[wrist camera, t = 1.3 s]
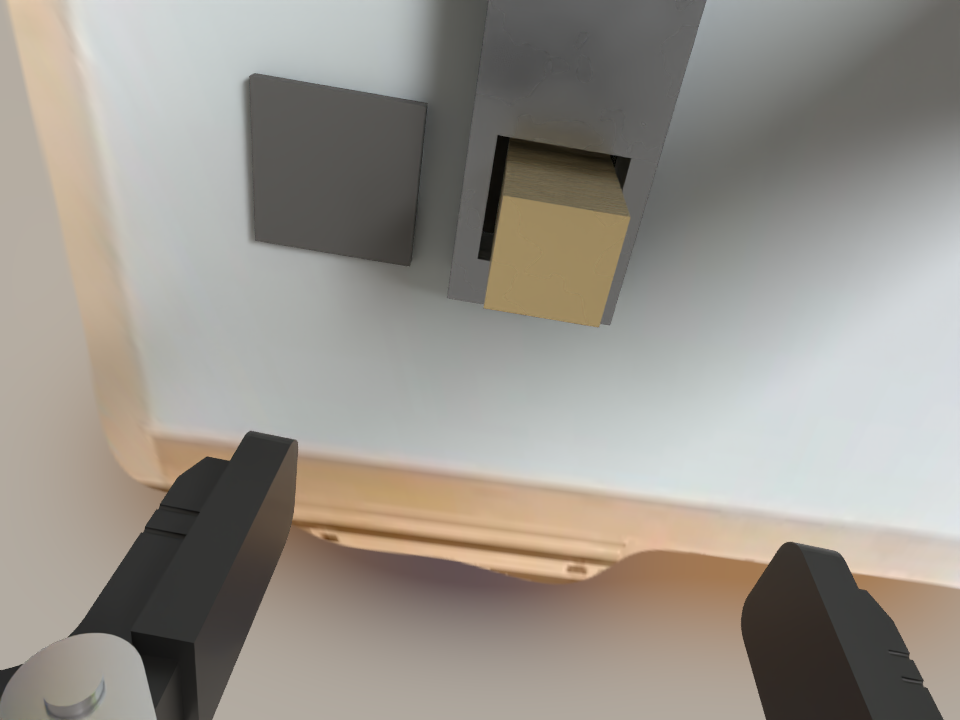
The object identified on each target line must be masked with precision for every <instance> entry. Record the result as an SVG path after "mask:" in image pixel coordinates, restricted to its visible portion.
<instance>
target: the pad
mask: <svg viewBox="0 0 960 720" xmlns="http://www.w3.org/2000/svg"><path fill="white" fill-rule="evenodd" d="M249 77H250V105H251V133H252V161H253V188H254V216H255V241H261V242H267V243H273V244H279V245H285V246H291V247H297V248H303V249H309V250H315V251H321V252H326V253H332V254H338V255H344V256H350V257H356V258H362V259H368V260H374V261H380V262H386V263H392V264H398V265H404V266H410V263H411V260H412V250H413V240H414V231H415V221H416V211H417V202H418V192H419V182H420V172H421V163H422V153H423V143H424V133H425V124H426V114H427V104H428V103H423V102H418V101H412V100H406V99H400V98H394V97H389V96H383V95H377V94H371V93H366V92H360V91H354V90H348V89H342V88H337V87H331V86H325V85H319V84H314V83H308V82H302V81H296V80H291V79H285V78H279V77H273V76H267V75H262V74H256V73H254V74H252V75H251V76H249Z"/></svg>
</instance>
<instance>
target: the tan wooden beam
mask: <svg viewBox="0 0 960 720" xmlns="http://www.w3.org/2000/svg"><path fill="white" fill-rule="evenodd" d="M630 218H631V217H630V214H629V211H628V208H627V205H626V202H625V199H624V196H623V193H622V190H621V187H620V184H619V181H618V178H617V175H616V172H615V169H614V166H613V163H612V160H611V157H610V154H604V153H599V152H593V151H587V150H581V149H576V148H570V147H564V146H558V145H552V144H547V143H541V142H535V141H529V140H523V139H518V138H512V137H510V140H509V145H508V151H507V157H506V163H505V169H504V175H503V180H502V186H501V192H500V198H499V204H498V210H497V215H496V221H495V228H494V236H493V243H492V250H491V258H490V265H489V272H488V280H487V287H486V294H485V302H484V308H485V309H491V310H497V311H503V312H509V313H515V314H521V315H527V316H533V317H539V318H545V319H551V320H557V321H563V322H569V323H575V324H581V325H587V326H593V327H599V326H600V322H601V319H602V315H603V312H604V308H605V305H606V301H607V298H608V294H609V291H610V287H611V284H612V280H613V277H614V273H615V270H616V266H617V263H618V259H619V256H620V252H621V249H622V245H623V242H624V239H625V235H626V232H627V228H628V225H629V221H630Z"/></svg>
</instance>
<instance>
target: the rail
mask: <svg viewBox="0 0 960 720" xmlns="http://www.w3.org/2000/svg"><path fill="white" fill-rule="evenodd" d="M705 3H706V0H489V1H488V9H487V16H486V23H485V30H484V37H483V44H482V52H481V59H480V66H479V73H478V80H477V88H476V95H475V102H474V109H473V116H472V123H471V131H470V138H469V145H468V152H467V159H466V167H465V174H464V181H463V188H462V195H461V202H460V210H459V217H458V224H457V231H456V238H455V246H454V253H453V260H452V267H451V274H450V281H449V289H448V296H447V298H449V299H455V300H461V301H467V302H473V303H479V304H484V302H485V294H486V287H487V280H488V272H489V265H490V258H491V250H492V243H493V236H494V233H490V232H484V231H482V230H483V224H484V218H485V212H486V206H487V200H488V193H489V187H490V181H491V175H492V169H493V162H494V156H495V150H496V144H497V138H498V135H500V136H506V137H512V138H518V139H523V140H529V141H535V142H541V143H547V144H552V145H558V146H564V147H570V148H576V149H581V150H587V151H593V152H599V153H604V154H610V155H616V156H617V160H616V164H615V168H614V169H615V172H616V175H617V178H618V181H619V184H620V187H621V190H622V193H623V196H624V199H625V202H626V205H627V208H628V211H629V214H630V217H631V218H630V221H629V225H628V228H627V232H626V235H625V239H624V242H623V245H622V249H621V252H620V256H619V259H618V263H617V266H616V270H615V273H614V277H613V280H612V284H611V287H610V291H609V294H608V298H607V301H606V305H605V308H604V312H603V315H602V319H601V322H600V324H605V325H610V323H611V320H612V316H613V313H614V310H615V306H616V303H617V300H618V296H619V293H620V289H621V286H622V283H623V279H624V276H625V273H626V269H627V266H628V263H629V259H630V256H631V252H632V249H633V246H634V242H635V239H636V236H637V232H638V229H639V225H640V222H641V219H642V215H643V212H644V209H645V205H646V202H647V199H648V195H649V192H650V188H651V185H652V182H653V178H654V175H655V172H656V168H657V165H658V161H659V158H660V155H661V151H662V148H663V145H664V141H665V138H666V135H667V131H668V128H669V124H670V121H671V118H672V114H673V111H674V108H675V104H676V101H677V98H678V94H679V91H680V87H681V84H682V81H683V77H684V74H685V71H686V67H687V64H688V60H689V57H690V54H691V50H692V47H693V44H694V40H695V37H696V34H697V30H698V27H699V23H700V20H701V17H702V13H703V10H704V7H705Z"/></svg>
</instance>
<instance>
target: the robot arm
mask: <svg viewBox="0 0 960 720" xmlns="http://www.w3.org/2000/svg"><path fill="white" fill-rule="evenodd" d="M297 458H298V442H297V440H294V439H289V438H284V437H279V436H274V435H269V434H264V433H259V432H254V431H249V432H248V433H247V434H246V435H245V436H244V438H243V440H242V441H241V443H240V445H239V446H238V448H237V450H236V452H235V453H234V455H233V457H232V458H231V460H230V461H227V460H222V459H217V458H212V457H205V458H204V459H203V460H201V461H200V462H198V463H197V464H196V465H194V466H193V467H191V468H190V469H189V470H187V471H186V472H184V473H183V474H182V475H180V476H179V477H178V478H177V479H176V481H175V482H174V484H173V485H172V487H171V488H170V490H169V491H168V493H167V494H166V496H165V497H164V499H163V500H162V502H161V504H160V507H159V509H158V510H156V511H155V512H154V514H153V515H152V517H151V519H150V520H149V521H148V523H147V524H146V526H145V530H144V532H143V533H141V534H140V535H139V537H138V538H137V539H136V541H135V542H134V544H133V545H132V547H131V549H130V550H129V552H128V553H127V555H126V556H125V558H124V559H123V561H122V562H121V564H120V565H119V567H118V568H117V570H116V571H115V573H114V574H113V576H112V577H111V579H110V580H109V582H108V583H107V585H106V586H105V588H104V589H103V591H102V592H101V594H100V595H99V597H98V598H97V600H96V601H95V603H94V604H93V606H92V607H91V609H90V610H89V612H88V613H87V615H86V616H85V618H84V619H83V620H82V622H81V623H80V624H79V626H78V627H77V628H76V629H75V630H74V632H72V633H71V634H70V635H69V636H68V637H67V638H65V639H62V640H60V641H57V642H55V643H53V644H51V645H49V646H47V647H45V648H43V649H42V650H41V651H39V652H37V653H36V654H35V655H33V656H32V657H31V658H29V659H28V660H27V661H26V662H25V663H24V664H21V665H19V666H15V667H12V668H9V669H5V670H0V720H212V719H213V716H214V714H215V711H216V709H217V707H218V704H219V702H220V699H221V697H222V695H223V692H224V690H225V687H226V685H227V682H228V680H229V678H230V675H231V673H232V671H233V667H234V665H235V663H236V661H237V659H238V656H239V654H240V651H241V649H242V647H243V644H244V642H245V639H246V637H247V635H248V632H249V630H250V627H251V625H252V623H253V620H254V618H255V615H256V613H257V610H258V608H259V605H260V603H261V601H262V598H263V596H264V594H265V591H266V589H267V587H268V584H269V582H270V579H271V577H272V575H273V572H274V570H275V567H276V565H277V562H278V560H279V558H280V555H281V553H282V551H283V548H284V546H285V543H286V540H287V537H288V534H289V531H290V527H291V523H292V518H293V513H294V504H295V489H296V473H297ZM741 630H742V636H743V640H744V644H745V647H746V651H747V654H748V657H749V661H750V664H751V668H752V671H753V675H754V679H755V682H756V686H757V689H758V693H759V696H760V700H761V703H762V707H763V710H764V714H765V717H766V720H943V718H942V716H941V714H940V712H939V710H938V708H937V706H936V704H935V702H934V700H933V698H932V696H931V694H930V692H929V690H928V688H926V687H923V679H922V677H921V675H920V673H919V671H918V669H917V667H916V665H915V663H914V661H913V660H910V659H909V654H910V653H909V651H908V649H907V647H906V645H905V643H904V641H903V639H902V637H901V635H900V633H899V632H898V629H897V627H896V626H895V624H894V622H893V620H892V619H891V618H890V617H889V616H888V615H887V613H886V612H885V611H884V610H883V609H882V608H881V606H880V605H879V604H878V603H877V602H876V601H875V600H874V598H873V597H872V596H871V595H870V594H869V593H868V592H867V591H866V590H861V589H859V588H858V587H857V584H856V582H855V580H854V578H853V576H852V574H851V572H850V570H849V568H848V566H847V564H846V562H845V560H844V558H843V557H842V556H841V554H839V553H838V552H836V551H833V550H829V549H824V548H819V547H814V546H809V545H804V544H799V543H794V542H787V543H785V544H783V545H782V546H781V547H780V548H779V550H778V551H777V553H776V554H775V556H774V557H773V559H772V560H771V562H770V563H769V565H768V567H767V568H766V569H765V571H764V572H763V574H762V576H761V577H760V578H759V580H758V582H757V583H756V585H755V586H754V588H753V589H752V591H751V592H750V594H749V595H748V597H747V599H746V601H745V603H744V606H743V610H742V617H741Z"/></svg>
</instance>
